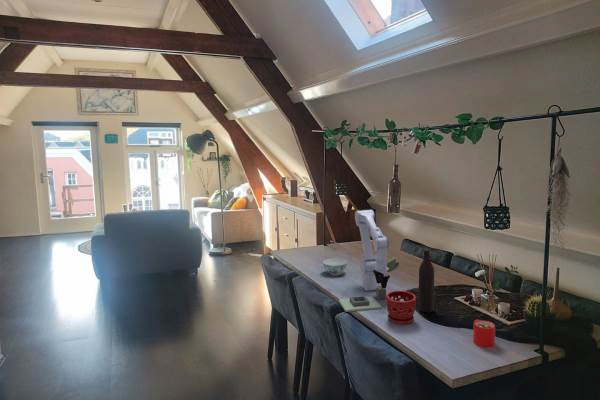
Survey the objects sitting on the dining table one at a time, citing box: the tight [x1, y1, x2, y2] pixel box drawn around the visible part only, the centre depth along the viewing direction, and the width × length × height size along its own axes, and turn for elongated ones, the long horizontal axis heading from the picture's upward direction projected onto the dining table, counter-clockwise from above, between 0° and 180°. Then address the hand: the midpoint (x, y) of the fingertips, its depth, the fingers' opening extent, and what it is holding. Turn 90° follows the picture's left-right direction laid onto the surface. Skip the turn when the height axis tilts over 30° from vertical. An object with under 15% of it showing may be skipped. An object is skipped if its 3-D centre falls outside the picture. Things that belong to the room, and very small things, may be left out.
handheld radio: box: [387, 256, 400, 273], centre depth 265 cm, size 7×3×25 cm
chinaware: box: [322, 258, 348, 276], centre depth 260 cm, size 15×15×8 cm
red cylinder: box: [472, 319, 496, 349], centre depth 169 cm, size 8×12×8 cm, turn 6°
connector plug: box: [375, 285, 387, 300], centre depth 218 cm, size 4×4×6 cm
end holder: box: [338, 295, 382, 313], centre depth 210 cm, size 14×18×3 cm
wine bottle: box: [418, 248, 435, 313], centre depth 198 cm, size 7×7×30 cm
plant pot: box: [385, 290, 417, 325], centre depth 189 cm, size 13×13×12 cm
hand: (381, 285), depth 218 cm, fingers open, 7 cm apart
